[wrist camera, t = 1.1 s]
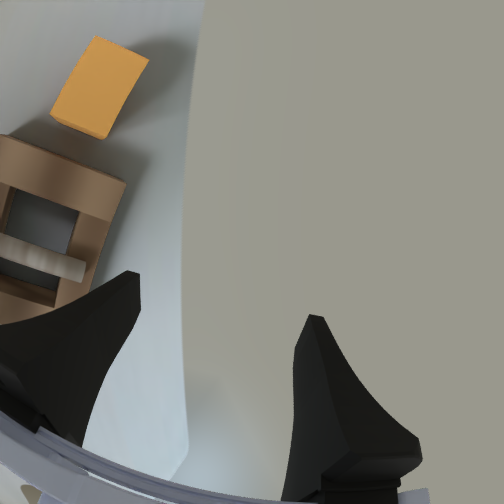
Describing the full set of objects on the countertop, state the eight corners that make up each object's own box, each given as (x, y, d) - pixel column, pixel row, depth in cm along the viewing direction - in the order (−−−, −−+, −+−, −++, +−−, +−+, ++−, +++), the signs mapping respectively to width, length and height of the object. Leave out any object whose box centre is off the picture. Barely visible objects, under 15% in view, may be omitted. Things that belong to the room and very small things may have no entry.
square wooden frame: (-29, 294, 17) (-43, 320, 13) (7, 135, 16) (-10, 133, 12) (74, 326, 23) (76, 356, 20) (122, 180, 22) (129, 186, 18)
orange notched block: (59, 122, 18) (49, 114, 13) (92, 62, 17) (95, 35, 12) (101, 140, 20) (106, 137, 15) (133, 80, 20) (149, 59, 14)
